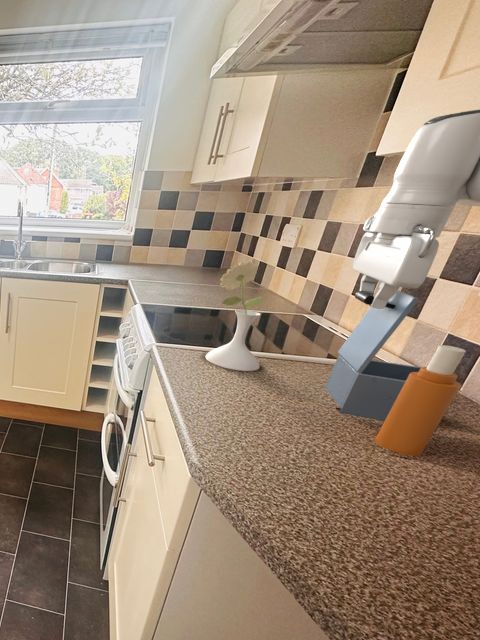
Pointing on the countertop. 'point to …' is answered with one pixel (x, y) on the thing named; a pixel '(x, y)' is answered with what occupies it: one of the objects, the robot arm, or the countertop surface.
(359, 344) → the lid
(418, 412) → the bottle
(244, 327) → the flower in vase
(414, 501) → the countertop surface
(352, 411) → the box
